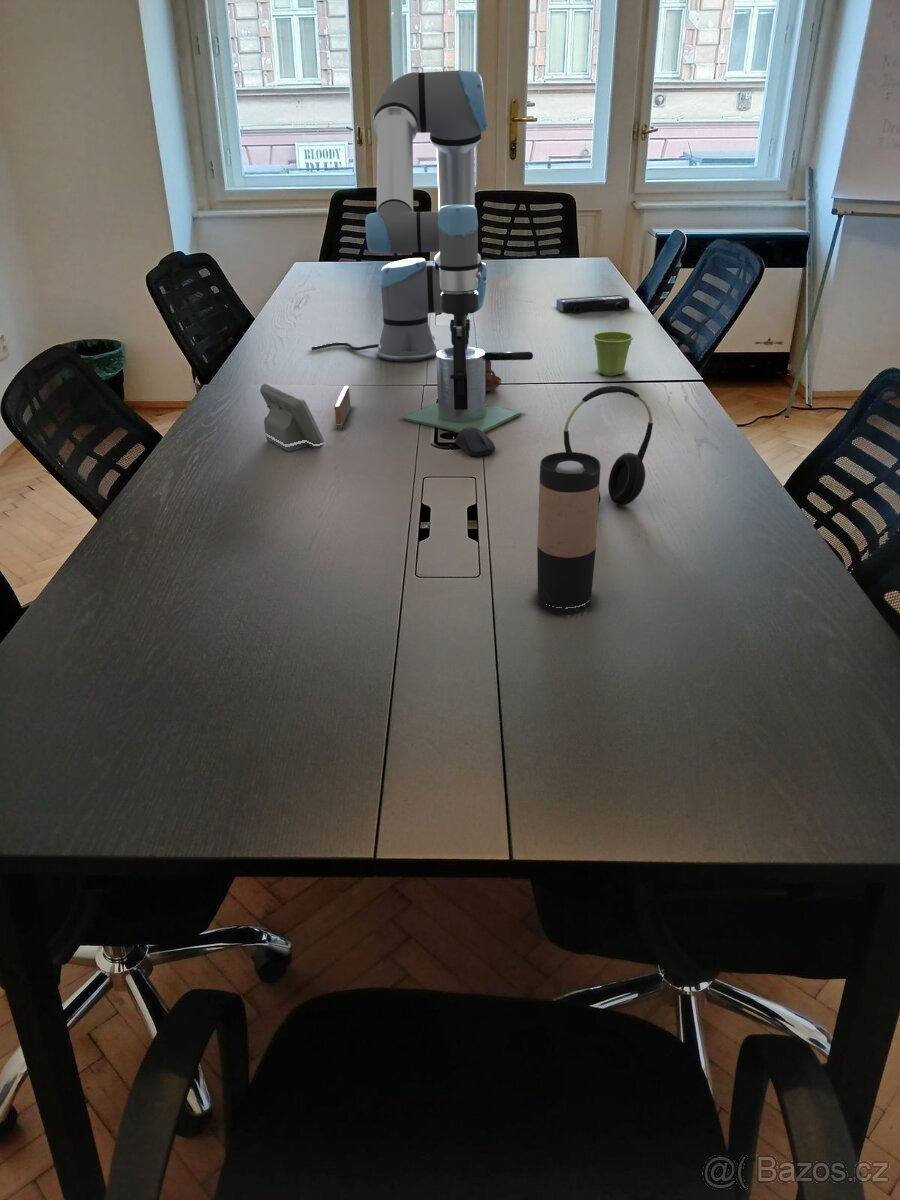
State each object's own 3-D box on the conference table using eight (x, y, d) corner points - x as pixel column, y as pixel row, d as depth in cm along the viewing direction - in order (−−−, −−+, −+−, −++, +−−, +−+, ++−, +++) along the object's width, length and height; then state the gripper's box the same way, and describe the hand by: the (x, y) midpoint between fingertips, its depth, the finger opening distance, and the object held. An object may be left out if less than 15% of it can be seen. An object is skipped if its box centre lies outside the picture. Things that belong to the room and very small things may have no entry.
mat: (403, 419, 186) (403, 417, 186) (449, 400, 197) (449, 397, 197) (476, 436, 176) (476, 433, 176) (520, 414, 187) (520, 412, 187)
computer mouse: (473, 459, 165) (473, 439, 163) (450, 445, 173) (450, 425, 171) (499, 454, 168) (499, 434, 166) (475, 439, 175) (475, 420, 173)
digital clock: (327, 450, 172) (322, 396, 167) (282, 458, 169) (275, 404, 163) (302, 426, 185) (296, 375, 179) (260, 433, 182) (252, 382, 176)
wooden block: (336, 429, 182) (334, 406, 180) (346, 408, 195) (344, 385, 192) (341, 429, 182) (339, 406, 180) (350, 408, 194) (348, 385, 192)
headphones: (655, 510, 144) (667, 389, 134) (568, 520, 142) (574, 398, 132) (636, 490, 151) (645, 374, 141) (553, 499, 149) (557, 382, 139)
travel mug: (531, 589, 123) (534, 453, 112) (585, 585, 123) (593, 449, 113) (541, 617, 116) (545, 475, 106) (598, 613, 116) (607, 472, 106)
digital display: (565, 303, 266) (556, 297, 274) (564, 314, 267) (555, 308, 276) (632, 298, 268) (621, 293, 277) (631, 309, 270) (620, 303, 279)
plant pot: (630, 378, 208) (632, 341, 203) (589, 377, 209) (591, 340, 205) (631, 367, 215) (633, 331, 211) (592, 366, 217) (594, 331, 213)
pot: (404, 392, 180) (482, 309, 171) (408, 378, 188) (483, 298, 179) (461, 445, 185) (540, 367, 176) (463, 429, 193) (538, 354, 184)
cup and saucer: (509, 384, 207) (509, 357, 203) (489, 399, 197) (489, 371, 194) (462, 379, 211) (462, 353, 208) (441, 393, 202) (440, 366, 199)
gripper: (477, 302, 164) (479, 418, 175) (479, 279, 183) (480, 384, 195) (437, 303, 164) (441, 418, 175) (443, 280, 184) (446, 385, 195)
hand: (461, 400), depth 185 cm, fingers closed on pot, 10 cm apart
